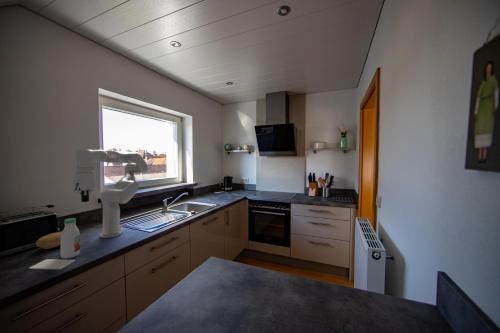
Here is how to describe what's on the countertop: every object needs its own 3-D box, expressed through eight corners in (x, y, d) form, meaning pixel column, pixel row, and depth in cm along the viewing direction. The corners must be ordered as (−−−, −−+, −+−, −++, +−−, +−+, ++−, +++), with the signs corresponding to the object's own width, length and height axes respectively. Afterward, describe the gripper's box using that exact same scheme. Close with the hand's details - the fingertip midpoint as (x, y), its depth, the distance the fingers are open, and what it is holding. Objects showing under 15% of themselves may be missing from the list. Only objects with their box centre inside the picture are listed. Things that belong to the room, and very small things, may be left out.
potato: (32, 250, 110) (32, 236, 110) (65, 241, 122) (64, 228, 122) (39, 254, 106) (39, 240, 105) (72, 244, 118) (72, 231, 118)
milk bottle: (68, 260, 101) (67, 222, 100) (56, 258, 102) (56, 220, 101) (83, 253, 108) (83, 217, 107) (72, 251, 110) (72, 216, 109)
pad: (46, 260, 100) (46, 259, 100) (75, 260, 100) (75, 259, 100) (28, 268, 92) (28, 268, 92) (60, 269, 93) (60, 268, 92)
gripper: (88, 169, 121) (89, 198, 121) (66, 171, 106) (66, 204, 106) (101, 170, 121) (101, 199, 121) (80, 171, 106) (80, 204, 107)
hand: (85, 201), depth 114 cm, fingers closed
